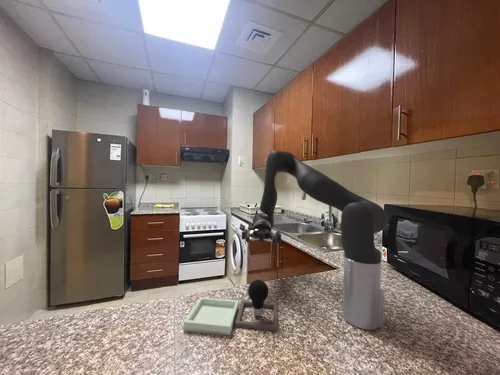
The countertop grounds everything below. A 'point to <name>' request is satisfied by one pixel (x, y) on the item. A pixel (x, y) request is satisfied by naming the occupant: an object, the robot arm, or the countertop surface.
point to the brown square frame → (255, 324)
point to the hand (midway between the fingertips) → (260, 240)
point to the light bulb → (258, 295)
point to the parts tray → (212, 316)
